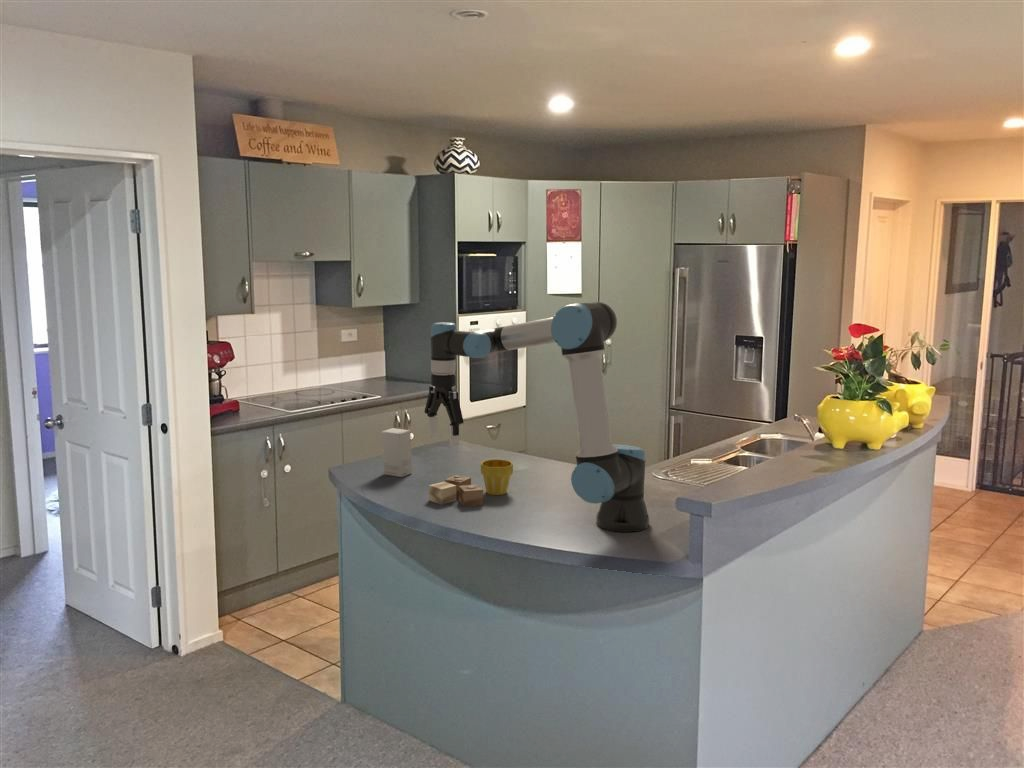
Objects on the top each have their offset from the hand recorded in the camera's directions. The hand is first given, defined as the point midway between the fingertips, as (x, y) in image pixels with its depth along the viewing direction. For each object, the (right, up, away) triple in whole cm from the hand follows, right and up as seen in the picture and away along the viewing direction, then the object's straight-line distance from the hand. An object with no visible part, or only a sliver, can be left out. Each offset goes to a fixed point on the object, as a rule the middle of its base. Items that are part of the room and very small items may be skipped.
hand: (443, 441), depth 266 cm
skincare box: (-19, -14, +32) cm, 40 cm away
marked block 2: (+9, -19, 0) cm, 21 cm away
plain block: (0, -19, +3) cm, 19 cm away
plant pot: (+16, -17, +12) cm, 27 cm away
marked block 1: (+4, -18, +11) cm, 21 cm away
